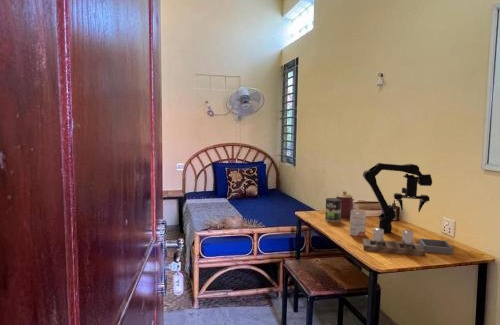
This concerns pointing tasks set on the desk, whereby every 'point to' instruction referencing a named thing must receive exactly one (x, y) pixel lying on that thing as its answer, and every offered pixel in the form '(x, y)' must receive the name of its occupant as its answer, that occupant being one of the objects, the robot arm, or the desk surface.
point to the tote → (434, 243)
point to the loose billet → (407, 239)
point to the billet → (378, 236)
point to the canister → (346, 203)
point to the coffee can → (333, 209)
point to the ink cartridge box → (357, 223)
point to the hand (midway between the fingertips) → (410, 211)
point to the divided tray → (393, 248)
